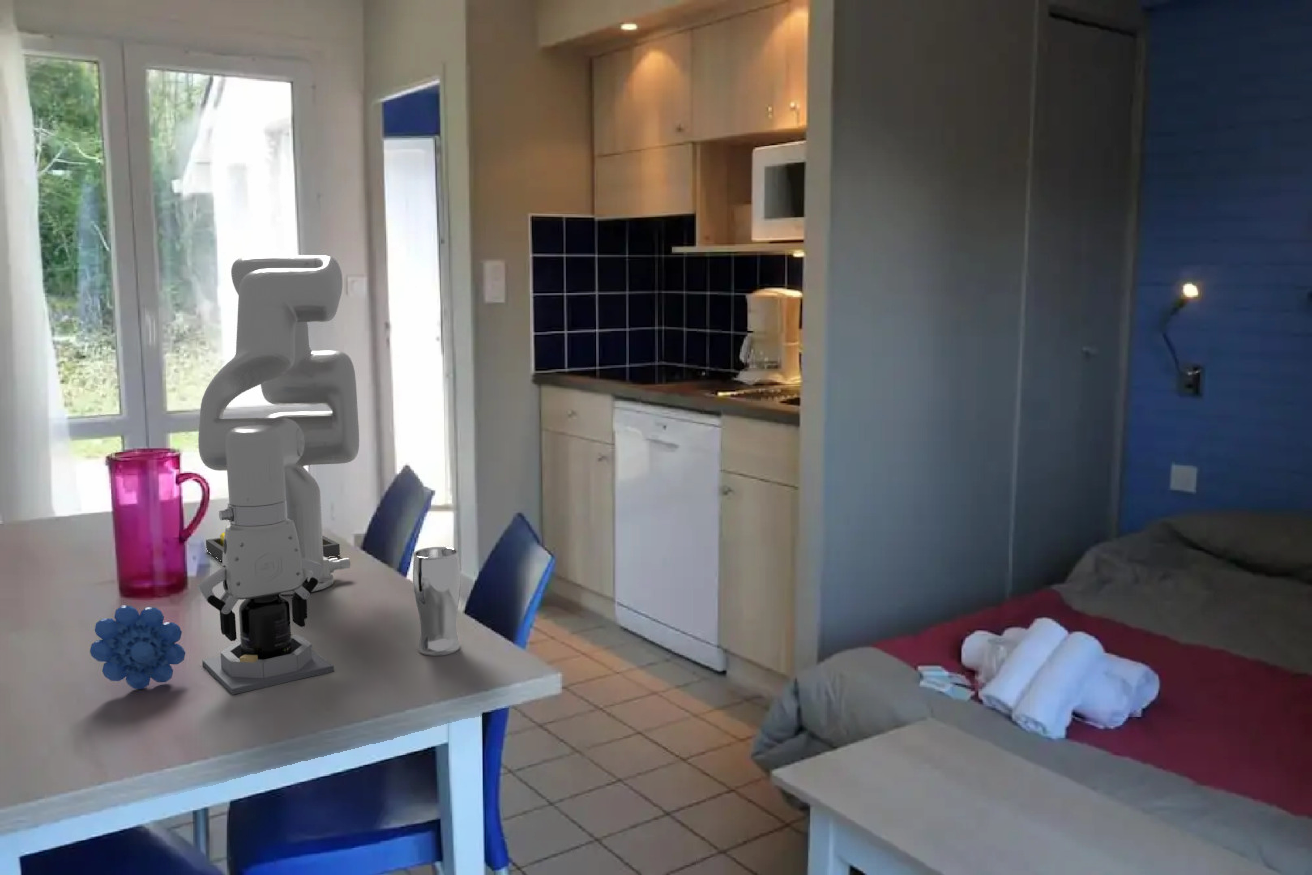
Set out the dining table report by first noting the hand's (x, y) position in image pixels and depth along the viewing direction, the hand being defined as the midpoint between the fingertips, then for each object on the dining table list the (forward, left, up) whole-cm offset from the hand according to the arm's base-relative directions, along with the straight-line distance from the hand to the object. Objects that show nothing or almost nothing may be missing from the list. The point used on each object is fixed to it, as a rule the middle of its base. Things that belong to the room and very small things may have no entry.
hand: (265, 631), depth 153 cm
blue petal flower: (+16, -2, -6) cm, 17 cm away
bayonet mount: (0, 0, -6) cm, 6 cm away
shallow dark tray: (-22, -63, -6) cm, 67 cm away
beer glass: (-23, +8, -6) cm, 25 cm away
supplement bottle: (0, 0, -5) cm, 5 cm away
